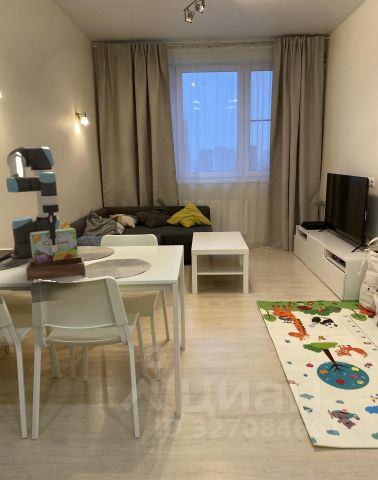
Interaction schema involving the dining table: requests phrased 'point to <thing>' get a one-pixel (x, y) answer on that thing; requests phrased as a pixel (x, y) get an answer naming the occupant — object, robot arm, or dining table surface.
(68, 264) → the dark brown wooden tray
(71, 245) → the snack box
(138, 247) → the dining table surface
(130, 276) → the dining table surface
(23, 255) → the robot arm
